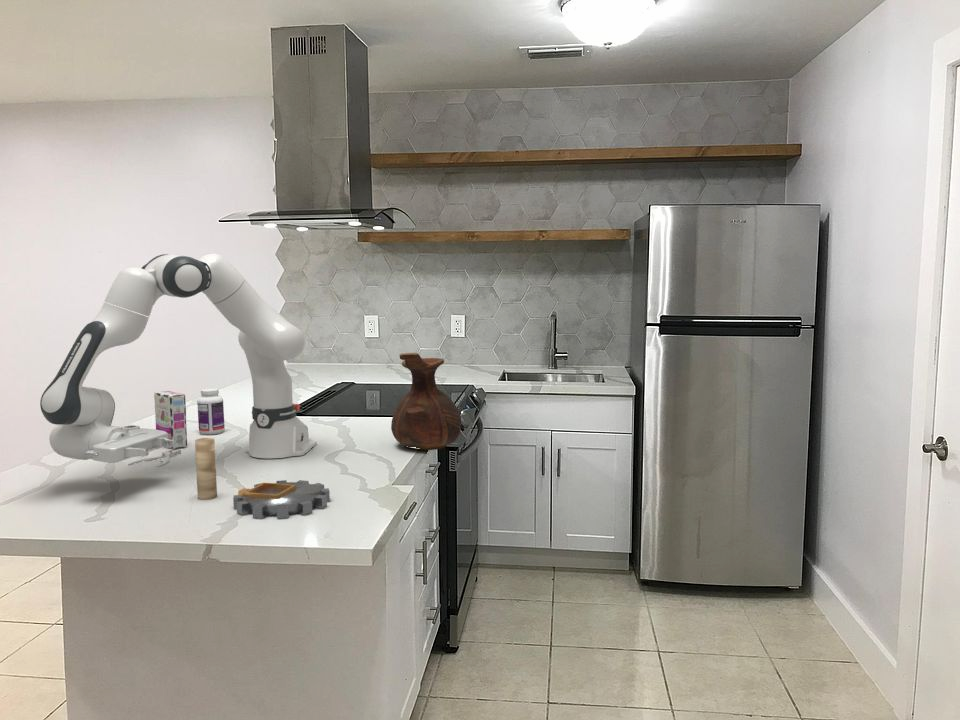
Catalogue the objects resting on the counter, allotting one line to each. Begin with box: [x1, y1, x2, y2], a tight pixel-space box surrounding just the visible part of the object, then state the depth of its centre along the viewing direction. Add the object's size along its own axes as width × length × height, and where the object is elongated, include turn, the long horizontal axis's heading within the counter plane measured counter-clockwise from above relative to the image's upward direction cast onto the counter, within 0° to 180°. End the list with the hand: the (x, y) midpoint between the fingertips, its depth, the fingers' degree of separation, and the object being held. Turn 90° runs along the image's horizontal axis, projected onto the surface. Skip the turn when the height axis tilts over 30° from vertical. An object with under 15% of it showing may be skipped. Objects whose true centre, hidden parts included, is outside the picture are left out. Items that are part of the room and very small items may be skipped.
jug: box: [390, 352, 462, 451], centre depth 235 cm, size 22×22×30 cm
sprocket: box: [232, 479, 331, 520], centre depth 181 cm, size 22×22×3 cm
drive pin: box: [194, 437, 218, 501], centre depth 185 cm, size 4×4×14 cm
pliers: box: [127, 448, 182, 468], centre depth 221 cm, size 10×2×15 cm
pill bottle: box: [197, 387, 226, 436], centre depth 254 cm, size 8×8×14 cm
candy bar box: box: [153, 390, 188, 451], centre depth 236 cm, size 11×5×16 cm, turn 47°
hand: (159, 448), depth 187 cm, fingers open, 8 cm apart
